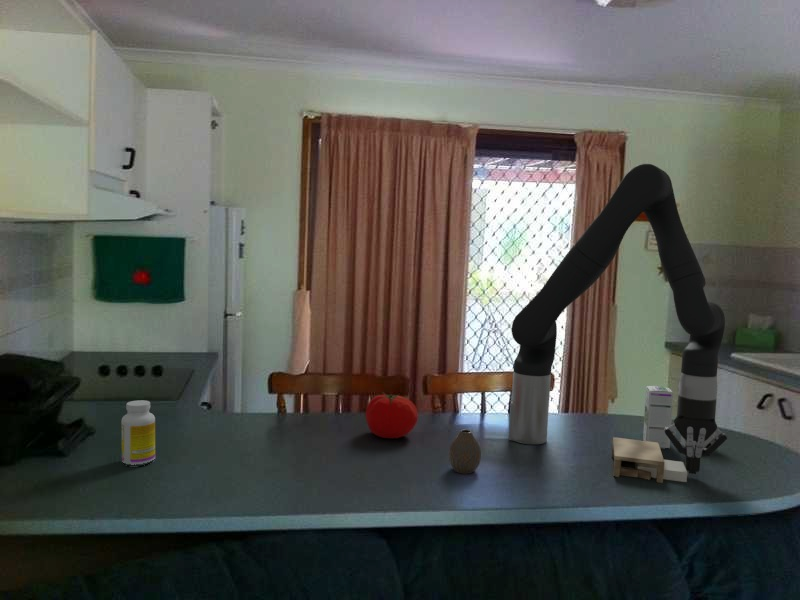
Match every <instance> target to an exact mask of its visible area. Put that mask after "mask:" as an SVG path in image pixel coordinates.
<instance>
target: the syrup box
mask: <svg viewBox="0 0 800 600" xmlns="http://www.w3.org/2000/svg"><path fill="white" fill-rule="evenodd" d="M673 399H674V392H673V391H672V390H671V388H669V387H668V386H660V385H646V387H645V399H644V400H645V402H644V413H643V414H644V417H643V433H642V441H649V442H658V444H659V447H660V449H665V448H669V449H670V447H671V441H670V439H669V438H668V437H667V435H666V434H665V432H664V427H666V426H667V427H669V426H670V425H672V420H673V419H672V417H673V401H674V400H673Z"/></svg>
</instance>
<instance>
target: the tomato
mask: <svg viewBox="0 0 800 600" xmlns="http://www.w3.org/2000/svg"><path fill="white" fill-rule="evenodd" d="M381 393H382V394H378V395H376V396H374V397H373V398H372V399H371V400H370V401H369V403H368V405H367V407H366V409H365V410H366V411H365V419H366V423H367V426H368V428H369V431H370V432H371V433H373V435H376V436H377V437H380V438H383V439H394V438H395V439H398V438H401V437H404V436H406V435H408V434H409V433H411V431H412V430H413V429H414V428H415V426H416V424H417V423H418V420H419V415H418V410H417V407H416V405H415V404H414V403H413V401H411V400H410V399H408V398H406V397H403V396H401V395H400V394H396V395H393V394H386V393H385V392H383V391H381Z"/></svg>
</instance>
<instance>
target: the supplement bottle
mask: <svg viewBox="0 0 800 600" xmlns="http://www.w3.org/2000/svg"><path fill="white" fill-rule="evenodd" d="M125 408H126V409H125V410H126V411H127V413H126V414H125V415H123V416H122V418H121V420H120V421H121V423H120V424H121V463H122V462H123V463H126V464H131V465H134V464H135V465H136V464H143V463H147V462H150V461H152V460H154V459H155V460H156V417H155V415H154V414H153V413H151V412H150V409H151V402H150V401H149V400H142V399H141V400H138V399H137V400H132V401H131V400H130V401H128V402H127V403H126V405H125ZM155 460H154V461H155ZM123 463H122V464H123Z"/></svg>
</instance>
